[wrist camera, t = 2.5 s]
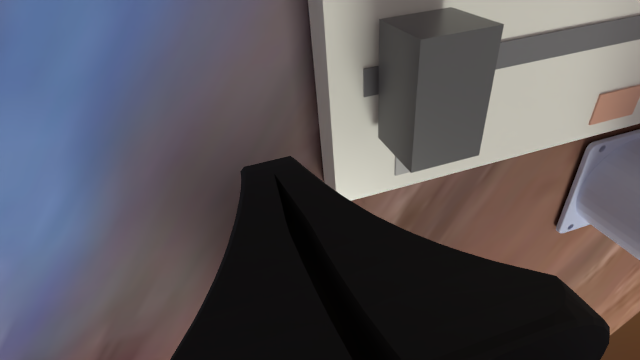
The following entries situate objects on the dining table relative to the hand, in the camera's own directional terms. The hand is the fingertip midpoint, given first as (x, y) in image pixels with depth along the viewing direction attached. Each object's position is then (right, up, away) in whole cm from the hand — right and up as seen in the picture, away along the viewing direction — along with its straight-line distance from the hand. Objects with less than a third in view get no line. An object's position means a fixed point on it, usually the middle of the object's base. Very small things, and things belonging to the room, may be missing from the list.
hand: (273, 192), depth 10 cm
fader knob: (+5, +5, +6) cm, 9 cm away
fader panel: (+10, +7, +9) cm, 16 cm away
